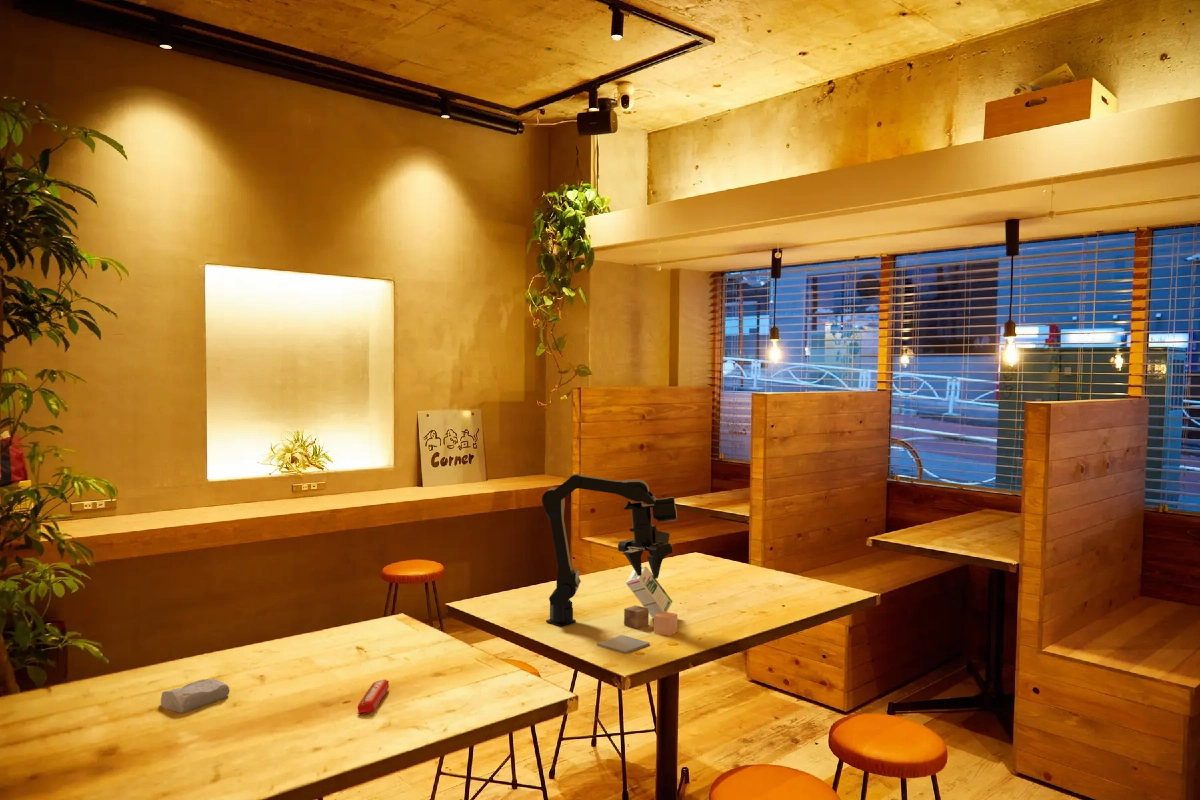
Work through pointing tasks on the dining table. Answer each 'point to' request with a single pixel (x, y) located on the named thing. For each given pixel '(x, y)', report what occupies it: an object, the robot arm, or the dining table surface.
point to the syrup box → (649, 592)
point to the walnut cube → (636, 617)
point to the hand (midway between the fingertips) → (647, 576)
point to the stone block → (194, 695)
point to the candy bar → (373, 697)
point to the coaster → (623, 644)
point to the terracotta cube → (665, 623)
